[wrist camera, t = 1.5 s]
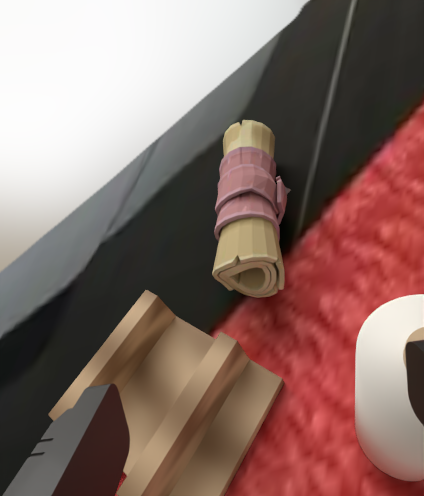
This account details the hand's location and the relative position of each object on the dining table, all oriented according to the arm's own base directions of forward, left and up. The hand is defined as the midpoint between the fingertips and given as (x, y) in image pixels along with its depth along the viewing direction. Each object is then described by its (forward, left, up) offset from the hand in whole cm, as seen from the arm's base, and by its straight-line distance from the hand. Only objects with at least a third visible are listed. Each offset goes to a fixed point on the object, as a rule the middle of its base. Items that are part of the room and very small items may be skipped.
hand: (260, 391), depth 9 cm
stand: (+2, -12, -18) cm, 22 cm away
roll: (-5, +4, -18) cm, 19 cm away
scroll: (-17, -15, -19) cm, 29 cm away
